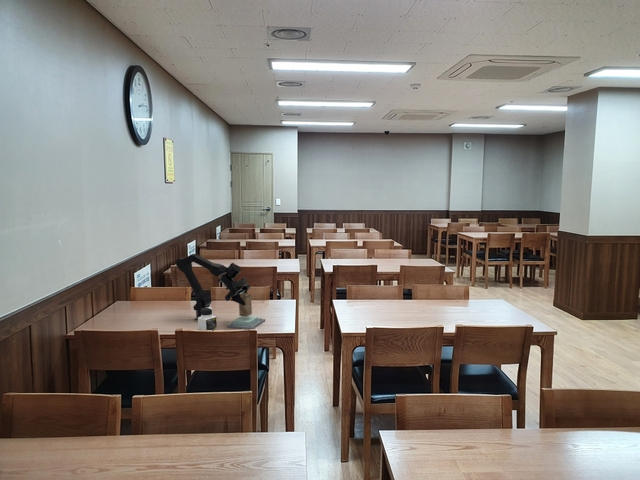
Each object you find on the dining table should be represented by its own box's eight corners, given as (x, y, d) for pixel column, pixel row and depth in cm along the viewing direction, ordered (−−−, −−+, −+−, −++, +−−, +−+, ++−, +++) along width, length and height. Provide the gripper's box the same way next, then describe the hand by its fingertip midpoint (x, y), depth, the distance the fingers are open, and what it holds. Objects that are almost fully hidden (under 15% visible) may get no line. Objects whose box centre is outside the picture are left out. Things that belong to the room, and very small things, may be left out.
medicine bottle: (206, 332, 236) (205, 310, 235) (198, 329, 241) (197, 308, 239) (217, 328, 242) (216, 307, 240) (208, 326, 246) (207, 305, 245)
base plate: (226, 327, 244) (226, 321, 244) (241, 318, 259) (240, 313, 258) (251, 330, 238) (251, 324, 238) (265, 321, 253) (265, 315, 253)
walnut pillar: (239, 315, 247) (238, 294, 245) (244, 313, 251) (243, 292, 250) (247, 316, 245) (246, 295, 243) (251, 314, 249) (251, 293, 248)
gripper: (228, 277, 238) (246, 299, 235) (246, 270, 255) (264, 290, 252) (217, 290, 242) (234, 311, 239) (235, 283, 259) (252, 302, 256)
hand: (247, 303), depth 247 cm, fingers closed on walnut pillar, 5 cm apart
